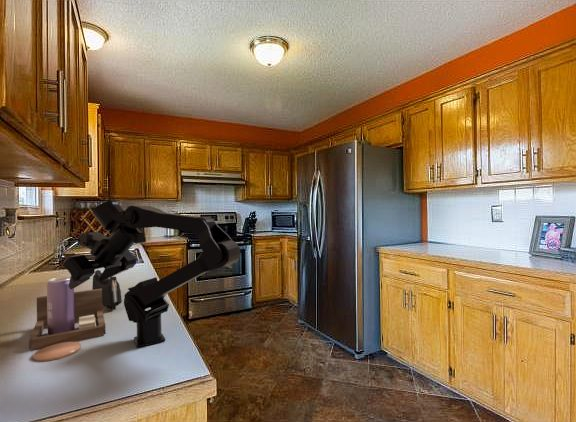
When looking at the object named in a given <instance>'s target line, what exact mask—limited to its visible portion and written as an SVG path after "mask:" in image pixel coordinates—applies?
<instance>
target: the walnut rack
mask: <svg viewBox="0 0 576 422" xmlns="http://www.w3.org/2000/svg"><path fill="white" fill-rule="evenodd" d="M89 315H94V317H95V320H96V322H97V323H96V324H97V325H96V326H94V327H89V328H83V329H79V328H78V329H74V330H73V331H68V332H62V333H57V334H52V335H48V334H47V335H43V332H44V330H46V329H48V320H47V295H43V296H37V297H36V322H35V325H34V326H33V329H32V331H31V334H30V336H29V338H28V342H29V343H28V345H29V346H28V348H29V350H30V351H38V350H40V349H42V348H45V347H47V346H50V345H54V344H58V343H63V342H79V341H85V340H90V339H94V338H99V337H104V335H105V334H106V333H107V332H106V323H105V322H106V321H105V317H104V312H103V304H102V289H94V290H92V289H89V290H80V291H74V317H75V324H79V317H83V316H89Z"/></svg>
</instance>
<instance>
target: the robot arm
mask: <svg viewBox="0 0 576 422" xmlns="http://www.w3.org/2000/svg"><path fill="white" fill-rule="evenodd" d="M92 215H93V216H94V218H95V220H97V221H98V222H99V224H100V225H101V226H102V228H103V229H104V230H105V231H113V232H112V233H111V234H110V236H109V237H108V236H106V235H105V234H103V233H101V232H98V231H94V232H91V231H90V232H81V234H80V235H79V236H78V238H77V243H78V245H80V246H82V247H85V248H87V249H89V250H90V251H89V254H90V255H91V256H92V257H93V256H94V257H93V258H94V259H92V260H89V259H88V257H87V256H86V255H85V254H76V255H71V256H67V257H66V259H65V260H64V261H63V263H62V265H63V266H64V268H65V269H66V270H67V272H69V274H70V277H71V278H70V282H69V288H70V289H73V288H74V289H75V288H77V287H79V286H80V285H82V284H84V283H85V282H87V281H89V280H90V279H91V277H93V276H94V274H95V271H96V270H100V269H104V270H103V271H102V272H101V273H102V274H101V276H100V277H99V280H100V281H104V280H106V279H108V278H110V277H115V276H116V275H119V274H121V273H123V272H126V271H128V270H129V269H132V268H134V266H135V265H136V264H137V258H136V257H135V256H134V254H133V253H132V252H131V251H130V249H131V247H133V245H134V244H143V243H146V242H147V238H146V235H145V232H144V231H143V232H141V231H140V230H139V229H145V228H146V229H147V228H148V229H149V228H161V229H168V230H175V231H176V230H177V231H183V232H190V233H195V235H196V237H197V240H198V244H199V247H200V249H201V253H200V254H199V256H198V257H197V258H196V259H195V260H192V261H191V262H189V263H187V264H186V265H184V266H182V267H180V268H178V269H176V270H175V271H173V272H171V273H169V274H167V275H166V276H164V277H162V278H161V279H158V278H157V276H155V277H152V278H149V279H145V280H142V281H140V282H138V283H137V284H135V285H134V286H131V287H128V288H127V290H128V291H127V292H126V293H125V294H124V299H123V306H124V309H125V313H126V315H127V319H128V321H129V322H133V323H135V324H136V336H134V337H133V341H134V343H135V345H136V347H137V348H141V347H145V346H150V345H153V344H158V343H162V342H165V341H166V338H165V336H164V334H163V333H162V314H163V313H167V312H168V309H169V307H170V304H169V302H168V301H167V300H166V299H165V297H166V295H167V294H169V293H170V292H173V291H175V290H176V289H178V288H180V287H182V286H185V284H187V283H189V282H191V281H193V280H195V279H197V278H199V277H200V276H202V275H204V274H206V273H208V272H211V271H215V270H218V269H221V268H224V267H226V266H229V265H232V264H235V263H237V262H238V261H239V260H240V258H241V257H240V256H241V247H240V246H239V245H238V243H237V242H236V241H235V240H233V239H232V238H231V237H230V235H229V234H228V233H227V232H226V231H224V229H223V228H221V227H220V226H219V224H218V223H216V221H215V219H213V218H212V217H210V216H197V215H196V216H195V215H189V214H181V213H173V212H167V211H164V210H162V209H160V208H158V207H154V206H152V205H129V206H127V207H126V209H125V210H124V209H123V208H122V207H121V205H120V204H119V202H118V201H117V199H115V198H107V200H106V201H105V202H104V201H103V202H102V203H100V204H98V205H97V206H95V207H93V209H92ZM149 308H150V309H149ZM147 309H148V310H147Z"/></svg>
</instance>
